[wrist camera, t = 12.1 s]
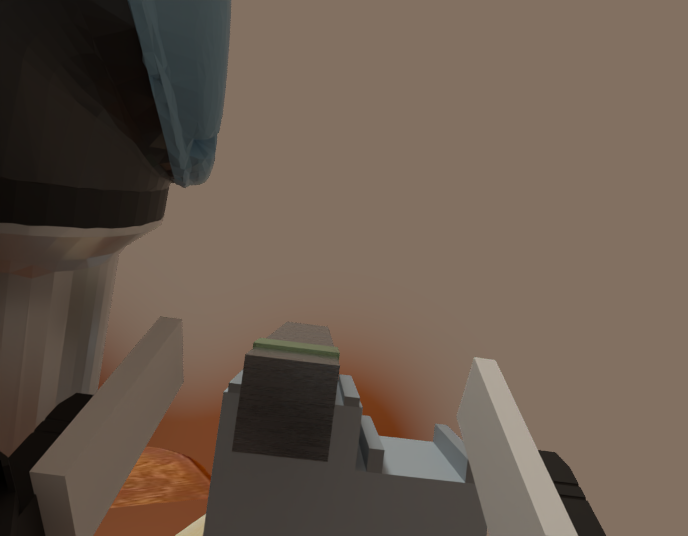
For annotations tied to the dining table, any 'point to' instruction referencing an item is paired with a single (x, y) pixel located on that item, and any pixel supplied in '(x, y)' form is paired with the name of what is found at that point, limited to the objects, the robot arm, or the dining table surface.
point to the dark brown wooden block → (288, 394)
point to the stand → (344, 482)
